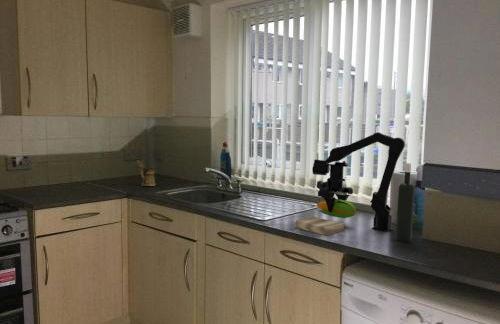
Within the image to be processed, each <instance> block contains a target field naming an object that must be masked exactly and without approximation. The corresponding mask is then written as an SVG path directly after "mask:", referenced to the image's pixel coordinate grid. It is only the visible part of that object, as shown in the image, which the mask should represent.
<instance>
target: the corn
mask: <svg viewBox="0 0 500 324" xmlns="http://www.w3.org/2000/svg"><path fill="white" fill-rule="evenodd" d="M338 201H341V202H338ZM343 202H345V203H343ZM316 205H317V206H316V207H317V208H319V210H318V212H320V214H321V213H322V214H323V215H327V216H330V217H334V218H339V219H347V218H351V217H352V218H353V216H355V214H357V212H356V211H357V210H356V206H355V205H354V204H353V203H351V202H349V201H347V200H346V201H345V200H339V199H338V198H336V199H335V202H334V206H333V209H332V212H329V211H328V207H327V204H326V201H320V202H318V203H317V204H316Z"/></svg>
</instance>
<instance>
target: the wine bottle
mask: <svg viewBox="0 0 500 324" xmlns="http://www.w3.org/2000/svg"><path fill="white" fill-rule="evenodd" d="M411 171H412V163H411V162H405V163H404V182H403V183H401V184H399V186H398V191H397V192H398V195H397V208H396V209H397V210H396V212H397V213H396V225H395V240H396V241H398V242H403V243H410V242H412V233H413V219H414V208H415V207H414V206H415V186H414V185H415V184H412V183H411Z"/></svg>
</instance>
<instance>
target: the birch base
mask: <svg viewBox="0 0 500 324" xmlns="http://www.w3.org/2000/svg"><path fill="white" fill-rule="evenodd" d="M294 227H295V228H296V229H300V230H304V231H307V232H310V233H314V234H320V235H323V236H329V235H333V234H338V233H340V232H344V230H345V223H343V222H338V221H334V220H329V219H325V218H320V217H316V216H311V217H307V218H301V219H296V220H295V226H294Z"/></svg>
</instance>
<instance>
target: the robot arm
mask: <svg viewBox="0 0 500 324" xmlns="http://www.w3.org/2000/svg"><path fill="white" fill-rule="evenodd" d="M375 143H379V144H382V145H384V146H386V147H388V158H387V161H386V164H385V167H384V171H383V174H382V178H381V180H380V184H379V188H378V190H377V191H374V192H373V193H372V196H371V200H370V201H369V203H370V207H371V209H372V210H373V211H374V212H375V214H374V217H373V227H372V228H371V229H372V230H377V231H382V232H389V231H392V230H394V228H393V227H392V220H393V216H392V215H391V213H392V210H393V209H392V208H391V207H390V206H389V205H388V197H389V190H390V189H389V188H390V186H391V182H392V179H393V176H394V173H395V170H396V166H397V163H398V161H399V158H400V156H401V155H402V152H403V151H404V150H405V147H406V142H405V140H404V139H403V138H401V137H392V136H389V135H386V134H384V133H381V132H374V133H373V134H371V135H368V136H366V137H363V138H361V139H359V140H356V141H355V142H352V143H350V144H346V145H343V146H338V147H334V148H331V150H330V151H329V156H328V157H327V158H326V160H325V159H314V160H313V163H312V164H313V165H312V168H311V169H312V175H315V176H317V175H318V176H327V175H328V174H329V177H328V178H327V179H326V181H324V182H323V180H317V182H316V188H317V189H319V190H318V191H317V197H321V198H322V199H323V200H324V202H326V204H327V207H328V211H329V212H332V209H333V206H334V202H335V201H336V200H335V199H339V200H345V201H347V200H348V199H349V197H350V196H351V195H353V194H354V189H353V188H352V187H350V186H344V185H343V182H345V181H346V179H345V178H344V168H346V167H348V166H349V164H348V163H347V162H346V160H343V159H345V158H347V157H348V156H350V155H351V154H352V153H354V152H357V151H358V150H361V149H364V148H366V147H368V146H371V145H373V144H375ZM342 160H343V161H342ZM340 161H342V162H340ZM334 196H336V197H334ZM337 202H341V201H337ZM343 203H345V202H343Z"/></svg>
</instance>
